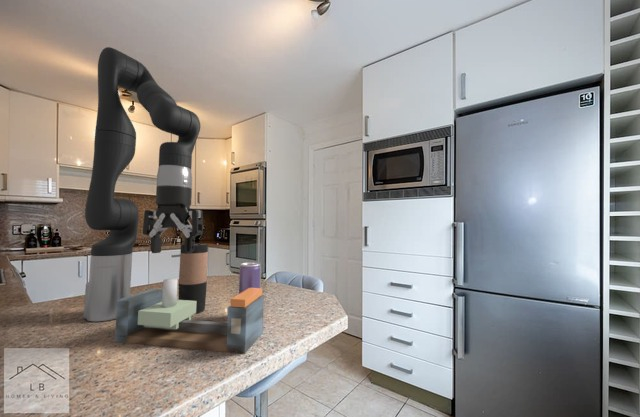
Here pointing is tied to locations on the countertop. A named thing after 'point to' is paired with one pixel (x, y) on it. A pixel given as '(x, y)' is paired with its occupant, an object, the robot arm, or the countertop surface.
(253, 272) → the beverage can
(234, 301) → the orange rectangular bar
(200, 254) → the travel mug
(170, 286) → the carriage
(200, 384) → the countertop surface
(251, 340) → the rail base
